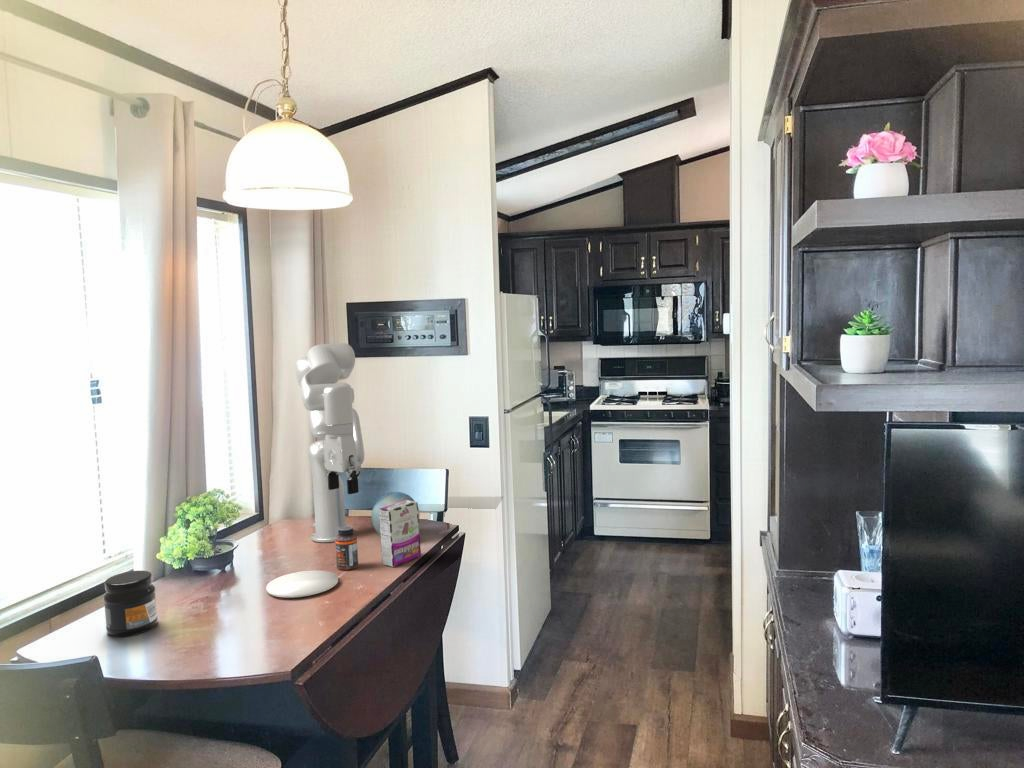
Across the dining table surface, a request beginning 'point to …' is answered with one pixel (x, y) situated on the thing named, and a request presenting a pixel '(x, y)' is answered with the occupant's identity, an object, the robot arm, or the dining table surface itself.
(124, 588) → the supplement container
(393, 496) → the decorative ball
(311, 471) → the robot arm
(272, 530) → the dining table surface
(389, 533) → the candy bar box
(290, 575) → the dish
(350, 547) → the supplement bottle
